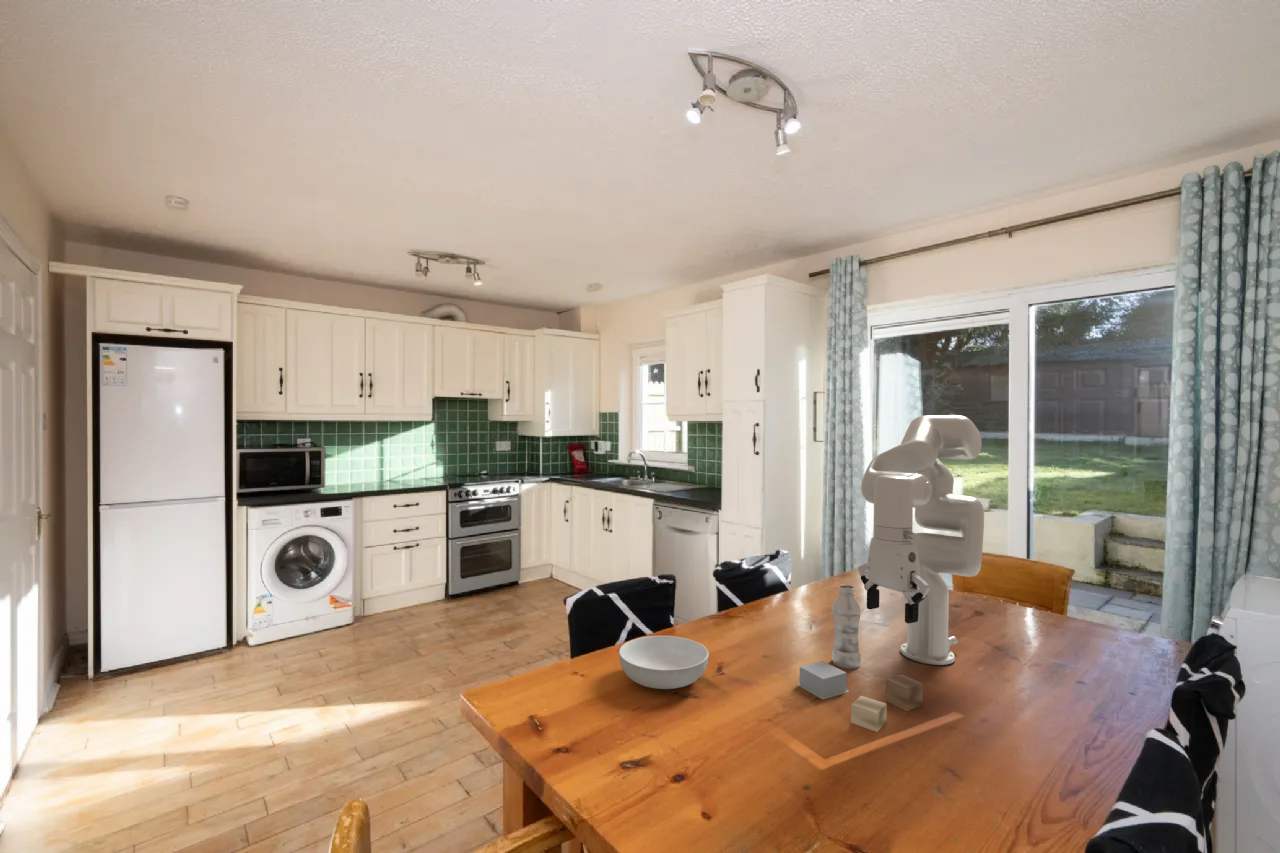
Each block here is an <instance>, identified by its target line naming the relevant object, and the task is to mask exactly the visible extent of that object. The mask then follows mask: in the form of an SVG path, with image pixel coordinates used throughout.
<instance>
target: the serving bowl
mask: <svg viewBox="0 0 1280 853" xmlns="http://www.w3.org/2000/svg"><path fill="white" fill-rule="evenodd" d="M709 655H710V653H709V650H708V649H707V647H706V646H704V644H702V643H700V642H697V641H695V640H693V639H689V638H686V637H682V636H681V637H680V636H673V635H648V636H641V637H637V638H635V639H631V640H629V641H627V642H625V643H623V644H622V645H621V646H620V648H619V649H618V656H619V657H618V658H619V662H620V665H621V668H622V670H623V672H624V673H625V674H626V675H627V677H628V678H629V679H631V681H633V682H634V683H637V684H639V685H641V686H644V687H646V688H650V689H651V688H652V689H658V690H673V689H679V688H683V687H686V686H689V685H691V684H693V683H694V682H696V681H697V680H698V679H700V678H701V677H702V675H703V674H704V673H705V670H706V669H707V666H708V662H709Z"/></svg>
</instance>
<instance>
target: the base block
mask: <svg viewBox="0 0 1280 853" xmlns="http://www.w3.org/2000/svg"><path fill="white" fill-rule="evenodd" d="M847 675H848V674H847V672H846V671H844V670H842V669H840V668H838V667H836V666H835V665H832V664H830V663H828V662H825V661H824V660H821V661H816V662H813V663H809V664H806V665H805V664H804V665H801V666H799V683H800V685H801V686H803V687H805V688H807V689H808V690H810V691H812V692H814V693H815V694H817V695H819V696H821V697H822V698H824V697H828V696H831V695H834V694H838V693H841V692H844V691H846V690H847V682H848V680H847V677H848V676H847Z"/></svg>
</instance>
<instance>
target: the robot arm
mask: <svg viewBox="0 0 1280 853" xmlns="http://www.w3.org/2000/svg"><path fill="white" fill-rule="evenodd" d="M982 441H983V440H982V435H981V433H980V431H979V429H978V427H977V426H976V424H974V422H973V421H972V420H971V419H970V418H968V417H967V416H964V415H958V414H957V415H956V414H949V415H948V414H947V415H945V414H944V415H943V414H942V415H941V414H940V415H938V414H937V415H935V414H934V415H933V414H931V415H930V414H929V415H921V416H917V417H915V418H914V419H913V420H912V421H911V422H910V423H909V425H908V427H907V429H906V431H905V434H904V436H903V438H902V440H901V442H900V444H898V445H897V446H894V447H892V448H890V449H888V450H886V451H883V452H881V453H880V454H878V455H877V456H875V457H874V458H873V459H871V461H870V463H869V464H868V466H867V468H866V470H865V472H864V474H863V477H862V480H861V485H860V487H861V488H860V489H861V495H862V497H863V499H864V500H865V501H866V502H868V503H870V504H873V528H872V529H873V536H872V537H871V540H870V544H869V548H868V558H867V562H866V563H864V564H862V565H859V566H858V567H857V570H858V573H859V576H860V580H861V582H862V584H863V589H864V590H866V609H867V610H873V609H879V607H880V589H879V588H878V587H883V588H885V589H889V590H892V591H895V592H899V593H902V594H903V596H904V598H905V600H906V603H905V604H904V622H905V623H906V627H907V629H906V630H907V631H906V642H905V643H902V644H901V645H900V649H899V650H900V653H901V654H902V656H904V657H906V658H908V659H909V660H912V661H915V662H918V663H922V664H925V665H934V666H945V665H950V664H952V663H954V662H955V660H956V658H955V653H953V651H951V650H950V647H951V646H953V645H956V644H957V643H958V642H959V641H958V638H957V637H956V636H954V635H953V636H949V607H950V606H949V602H950V601H949V599H950V598H949V597H950V594H949V587H948V584H947V583H946V582H945V580H944V579H943V577H942V576H941V575H940V574H947V575H954V576H955V575H956V576H959V577H960V576H961V577H969V578H970V577H971V578H972V577H975V576H977V575H978V574H979V573H980V570H981V568H982V559H983V546H984V544H983V543H984V529H985V511H984V506H983V504H982V502H981V501H980V500H979V499H978V498H976V497H973V496H969V495H959V494H953V493H954V479H955V478H954V476H953V474H952V472H951V471H950V469H949V468H948V467H947V466H946V465H945V464H944V463H943V462H941V461H940V459H946V460H947V459H948V460H949V459H951V460H974V459H976V458H977V457H978V456H979V455H980V454H981V450H982V446H983V445H982V444H983V443H982ZM913 508H914V509H913ZM913 510H914V517H913ZM913 518H914V520H915V522H916V524H917V525H918V526H919V527H921V528H923V529H928V530H932V531H933V530H934V531H943V532H951V533H959V534H960V535H962V536H954V535H946V534H939V533H930V532H913Z"/></svg>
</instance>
